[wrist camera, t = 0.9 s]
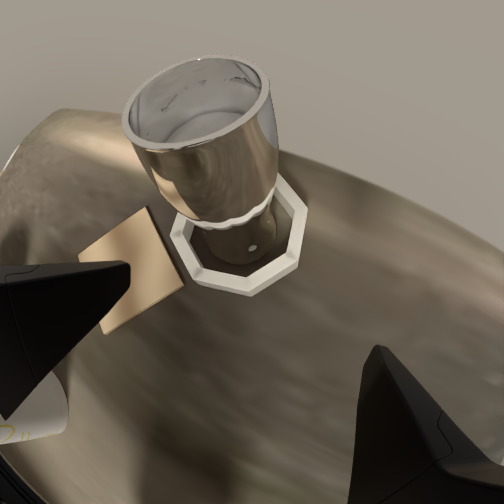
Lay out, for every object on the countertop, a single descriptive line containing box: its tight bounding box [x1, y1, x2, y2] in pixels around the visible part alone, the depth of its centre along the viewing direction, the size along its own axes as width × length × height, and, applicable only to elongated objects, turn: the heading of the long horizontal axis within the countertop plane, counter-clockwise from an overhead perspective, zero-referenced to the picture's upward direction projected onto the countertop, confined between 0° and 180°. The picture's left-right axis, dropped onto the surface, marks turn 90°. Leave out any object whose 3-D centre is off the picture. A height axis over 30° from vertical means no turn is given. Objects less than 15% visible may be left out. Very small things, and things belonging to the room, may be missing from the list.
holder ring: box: [170, 173, 308, 297], centre depth 23 cm, size 11×11×2 cm
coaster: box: [78, 207, 184, 334], centre depth 24 cm, size 9×9×1 cm
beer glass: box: [122, 55, 279, 265], centre depth 17 cm, size 7×7×15 cm
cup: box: [0, 371, 68, 444], centre depth 15 cm, size 8×8×12 cm
